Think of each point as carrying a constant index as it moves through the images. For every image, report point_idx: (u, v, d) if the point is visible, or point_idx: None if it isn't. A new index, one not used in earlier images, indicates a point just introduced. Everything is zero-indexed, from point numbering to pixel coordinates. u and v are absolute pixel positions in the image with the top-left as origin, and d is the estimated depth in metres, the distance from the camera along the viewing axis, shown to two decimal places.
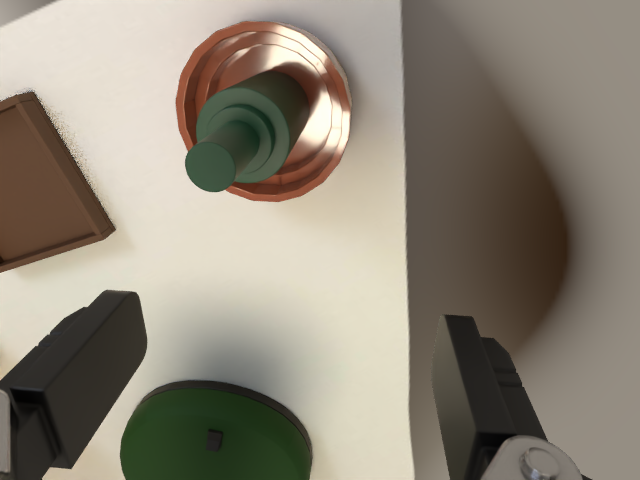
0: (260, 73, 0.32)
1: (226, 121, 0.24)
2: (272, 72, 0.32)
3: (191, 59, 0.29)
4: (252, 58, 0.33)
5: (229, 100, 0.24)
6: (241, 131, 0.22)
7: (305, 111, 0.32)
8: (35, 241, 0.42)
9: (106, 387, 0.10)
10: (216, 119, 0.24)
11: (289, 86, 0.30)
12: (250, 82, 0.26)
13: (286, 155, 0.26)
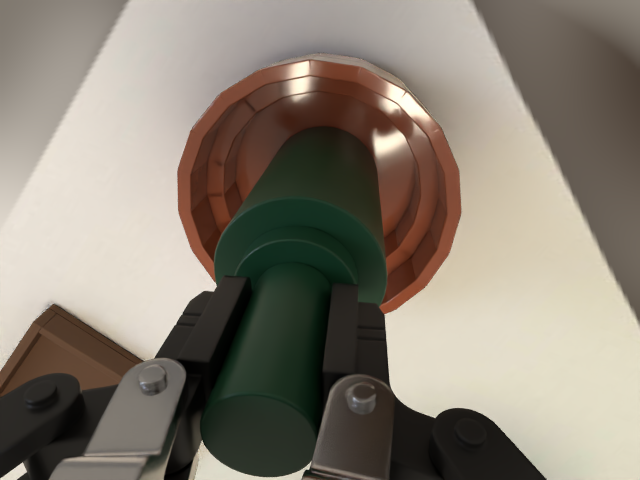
0: (282, 147, 0.21)
1: (258, 275, 0.13)
2: (297, 136, 0.21)
3: (180, 185, 0.19)
4: (262, 132, 0.22)
5: (248, 234, 0.13)
6: (289, 294, 0.11)
7: (370, 164, 0.20)
8: None
9: None
10: None
11: (330, 144, 0.18)
12: (269, 180, 0.15)
13: (384, 271, 0.13)
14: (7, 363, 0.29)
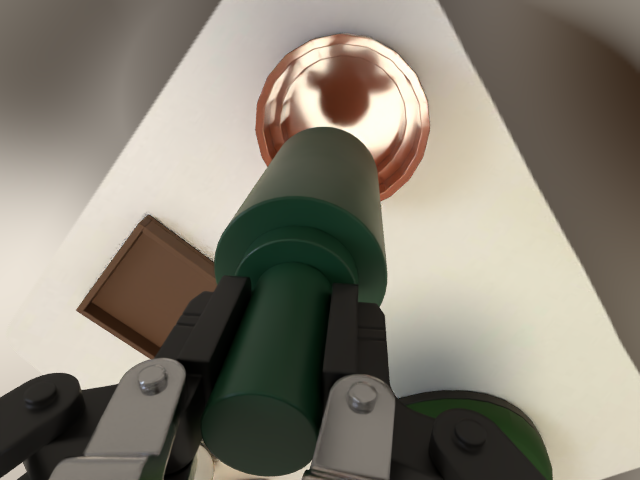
0: (282, 147, 0.21)
1: (258, 275, 0.13)
2: (297, 136, 0.21)
3: (258, 113, 0.31)
4: (304, 85, 0.34)
5: (248, 234, 0.13)
6: (289, 294, 0.11)
7: (370, 164, 0.20)
8: None
9: None
10: None
11: (330, 145, 0.18)
12: (269, 180, 0.15)
13: (384, 271, 0.14)
14: (115, 256, 0.41)
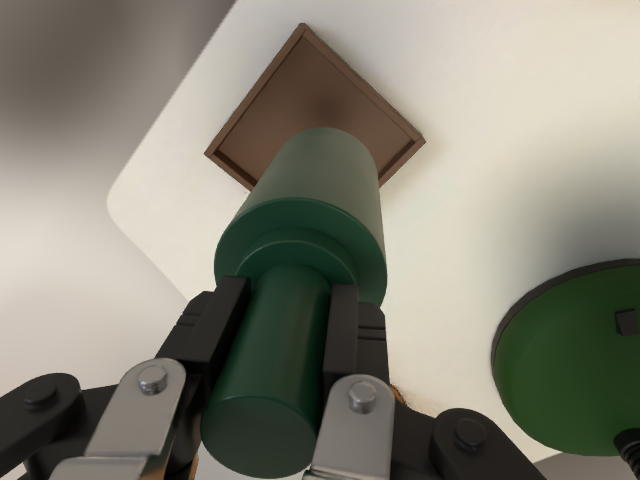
0: (282, 147, 0.21)
1: (258, 276, 0.13)
2: (297, 137, 0.21)
3: None
4: None
5: (248, 235, 0.13)
6: (289, 295, 0.11)
7: (370, 165, 0.20)
8: None
9: None
10: None
11: (330, 145, 0.18)
12: (269, 181, 0.15)
13: (384, 272, 0.13)
14: (264, 74, 0.34)
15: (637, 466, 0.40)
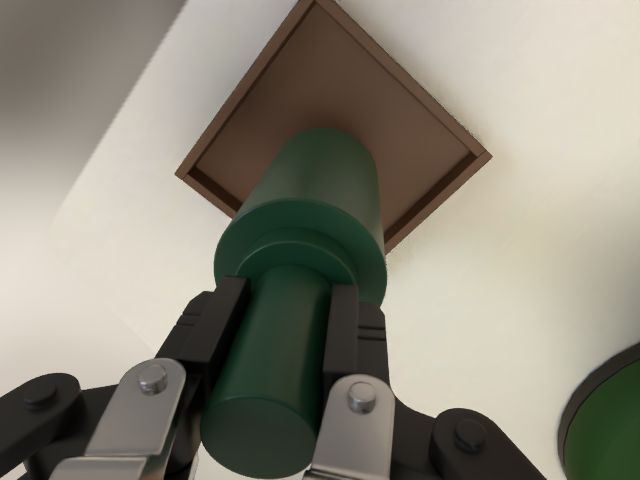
0: (282, 148, 0.21)
1: (258, 276, 0.13)
2: (297, 137, 0.21)
3: None
4: None
5: (248, 236, 0.13)
6: (288, 296, 0.11)
7: (370, 165, 0.20)
8: None
9: None
10: None
11: (330, 146, 0.18)
12: (268, 181, 0.15)
13: (384, 272, 0.13)
14: (258, 59, 0.23)
15: None
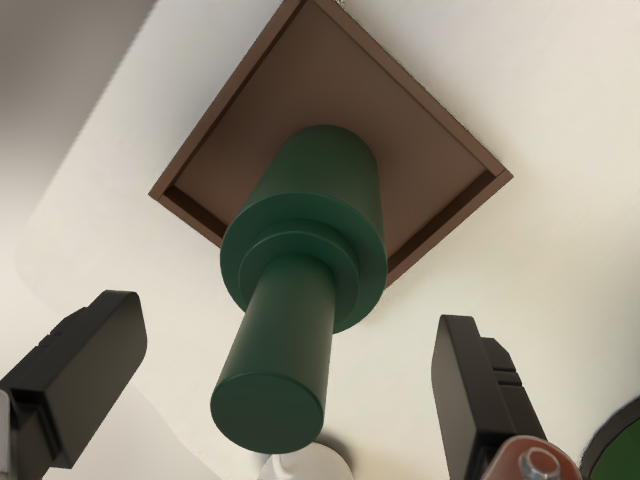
0: (284, 144, 0.21)
1: (263, 266, 0.13)
2: (299, 134, 0.21)
3: None
4: None
5: (253, 227, 0.14)
6: (293, 283, 0.11)
7: (370, 161, 0.20)
8: None
9: (106, 387, 0.10)
10: (247, 270, 0.13)
11: (331, 142, 0.19)
12: (272, 176, 0.15)
13: (385, 263, 0.14)
14: (241, 64, 0.20)
15: None
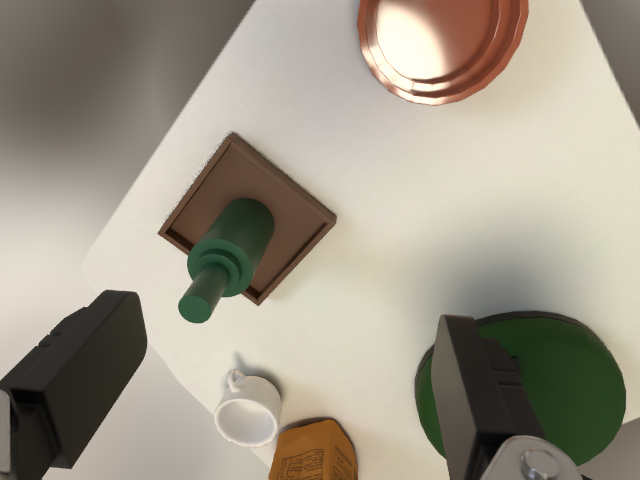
0: (224, 209, 0.43)
1: (202, 267, 0.35)
2: (231, 204, 0.43)
3: (361, 4, 0.32)
4: None
5: (199, 252, 0.36)
6: (209, 272, 0.33)
7: (264, 217, 0.42)
8: (278, 261, 0.47)
9: (106, 387, 0.10)
10: (196, 269, 0.35)
11: (242, 211, 0.41)
12: (209, 230, 0.37)
13: (251, 265, 0.36)
14: (201, 173, 0.42)
15: None
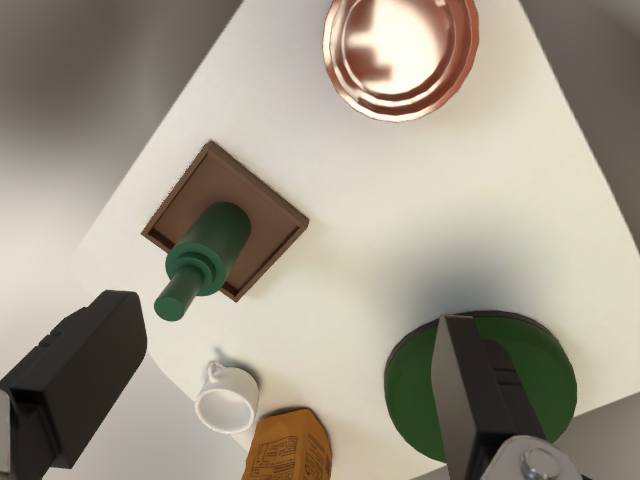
0: (203, 212, 0.46)
1: (178, 269, 0.38)
2: (210, 207, 0.46)
3: (326, 28, 0.34)
4: (361, 11, 0.38)
5: (176, 255, 0.39)
6: (183, 274, 0.36)
7: (240, 221, 0.45)
8: (254, 261, 0.50)
9: (106, 387, 0.10)
10: (173, 270, 0.38)
11: (219, 215, 0.44)
12: (187, 234, 0.40)
13: (224, 267, 0.39)
14: (181, 179, 0.45)
15: None
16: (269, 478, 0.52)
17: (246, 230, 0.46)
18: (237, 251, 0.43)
